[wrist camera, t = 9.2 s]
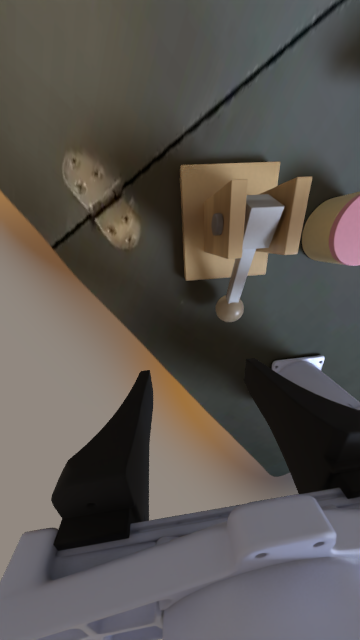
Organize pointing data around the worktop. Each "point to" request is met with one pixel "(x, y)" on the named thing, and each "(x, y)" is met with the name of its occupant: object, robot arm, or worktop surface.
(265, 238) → the lever with ball knob
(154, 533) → the robot arm
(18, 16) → the worktop surface
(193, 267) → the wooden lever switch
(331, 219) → the cake
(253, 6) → the worktop surface
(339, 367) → the worktop surface
